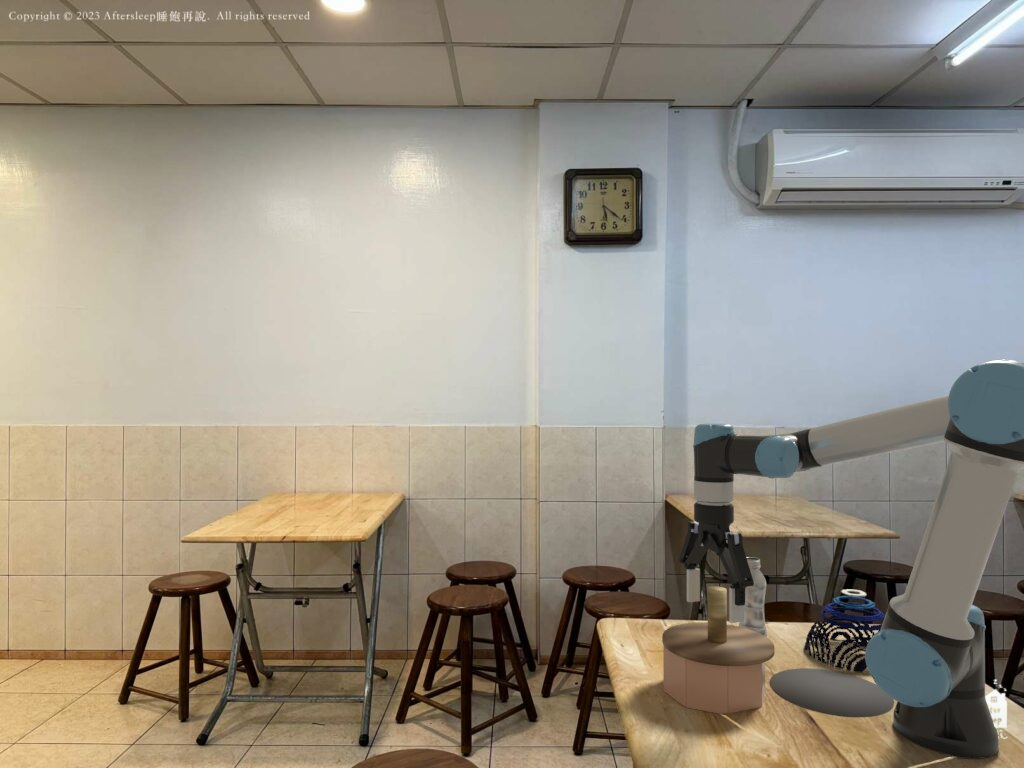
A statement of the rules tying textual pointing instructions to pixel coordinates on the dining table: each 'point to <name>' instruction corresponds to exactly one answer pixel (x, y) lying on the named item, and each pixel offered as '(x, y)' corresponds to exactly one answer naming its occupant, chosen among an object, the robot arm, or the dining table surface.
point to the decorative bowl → (865, 627)
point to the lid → (718, 638)
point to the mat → (831, 692)
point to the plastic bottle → (755, 600)
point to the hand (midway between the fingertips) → (714, 611)
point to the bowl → (713, 684)
